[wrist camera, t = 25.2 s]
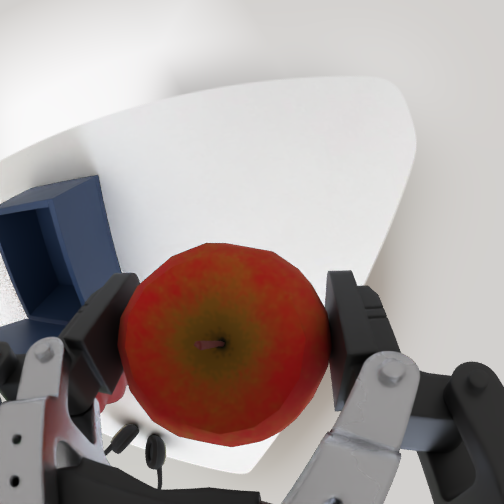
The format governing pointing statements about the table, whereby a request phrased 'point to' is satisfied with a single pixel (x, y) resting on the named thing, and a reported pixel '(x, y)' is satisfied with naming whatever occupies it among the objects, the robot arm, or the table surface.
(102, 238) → the box
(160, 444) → the headphones
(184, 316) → the apple
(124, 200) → the table surface
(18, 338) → the lid
